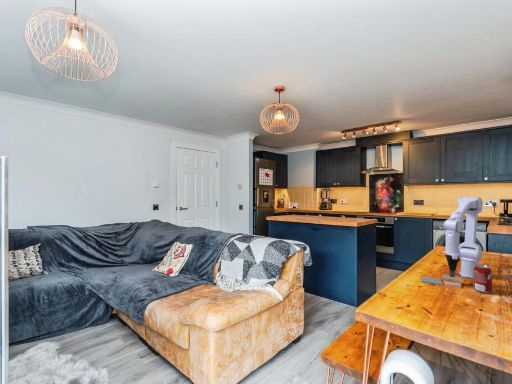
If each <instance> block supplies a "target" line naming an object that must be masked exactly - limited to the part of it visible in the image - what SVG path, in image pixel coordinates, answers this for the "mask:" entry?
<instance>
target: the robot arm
mask: <svg viewBox="0 0 512 384" xmlns="http://www.w3.org/2000/svg"><path fill="white" fill-rule="evenodd" d="M483 205H484V203H483V199H482V198H481V196H479V197H478V196H477V197H476V196H459V197H458V198H457V206H458V207H457V210H455V211H453V212H452V214H450V216H449V218H448V219H446V220H444V221H443V230H444V235H445V250H442V253H443V254H445V255H444V256H445V259H446V261H447V265H448V270H449V272H450V271H455V272H456V270H457V267H458V264H459V262H460V260H461V262H460V271H458V273H459V274H460V277H461V278H463V277H464V278H471V279H473V275H474V267H475V265H479V262H480V261H481V260H482V258H483V251H482V247H481V246H480V245H479V244H478V243H477V242H476V239H477V227H478V226H477V225H478V217H479V214H480V213H482V212H483ZM465 219H466V221H465ZM464 221H465V233H464V242H462V243H460V233H461V231H462V229H463V228H462V227H463V222H464Z"/></svg>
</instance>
